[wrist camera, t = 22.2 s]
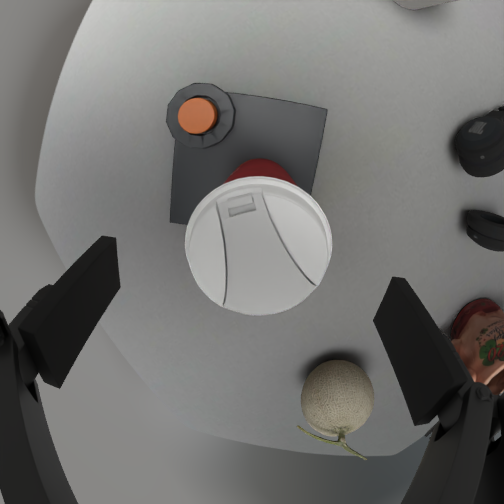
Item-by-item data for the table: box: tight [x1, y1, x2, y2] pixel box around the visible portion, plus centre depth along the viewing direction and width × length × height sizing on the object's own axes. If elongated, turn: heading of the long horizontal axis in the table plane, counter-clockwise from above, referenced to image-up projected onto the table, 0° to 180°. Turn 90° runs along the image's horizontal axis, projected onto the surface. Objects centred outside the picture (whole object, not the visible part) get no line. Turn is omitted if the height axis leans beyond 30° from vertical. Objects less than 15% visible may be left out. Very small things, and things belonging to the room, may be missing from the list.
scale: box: [166, 83, 327, 225], centre depth 27 cm, size 14×15×3 cm
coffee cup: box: [185, 158, 332, 316], centre depth 22 cm, size 8×8×15 cm
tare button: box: [178, 98, 217, 134], centre depth 23 cm, size 3×3×2 cm
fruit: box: [297, 360, 374, 460], centre depth 35 cm, size 10×12×15 cm
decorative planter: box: [451, 299, 504, 395], centre depth 31 cm, size 20×12×14 cm, turn 103°
